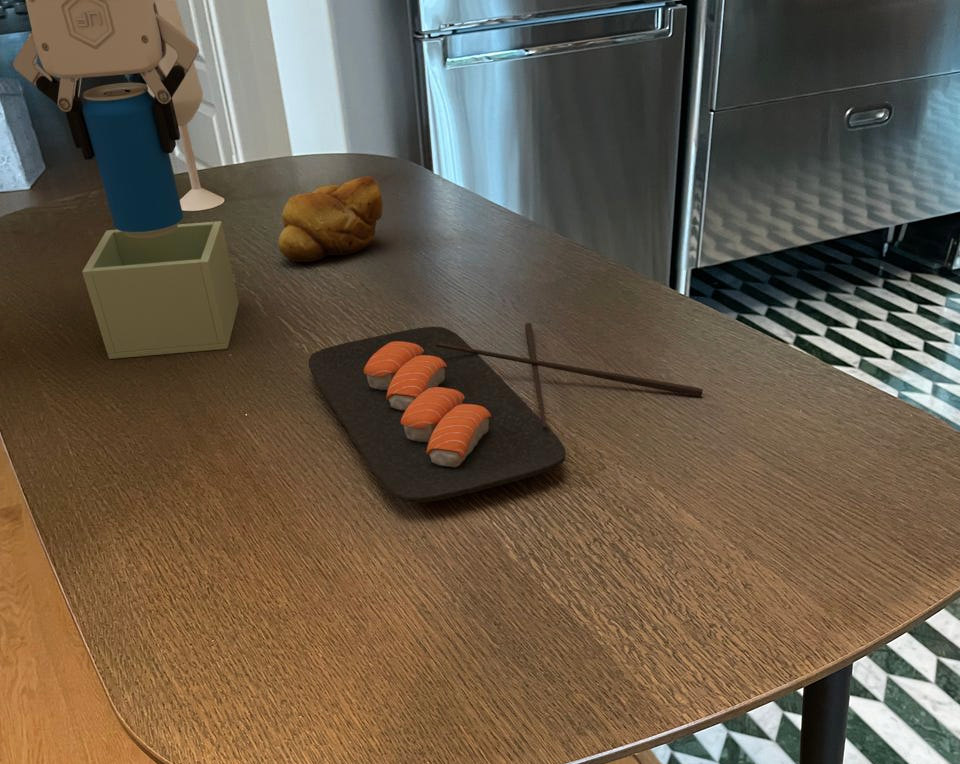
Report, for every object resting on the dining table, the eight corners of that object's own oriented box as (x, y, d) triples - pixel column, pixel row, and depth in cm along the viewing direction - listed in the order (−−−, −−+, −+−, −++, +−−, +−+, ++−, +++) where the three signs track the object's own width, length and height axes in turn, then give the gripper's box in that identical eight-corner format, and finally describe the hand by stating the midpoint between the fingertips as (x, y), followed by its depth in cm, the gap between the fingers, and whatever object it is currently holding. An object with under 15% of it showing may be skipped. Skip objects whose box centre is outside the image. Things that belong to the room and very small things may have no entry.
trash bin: (109, 359, 98) (81, 271, 92) (129, 312, 107) (106, 230, 101) (227, 349, 98) (208, 261, 93) (239, 303, 107) (221, 220, 102)
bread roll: (298, 275, 113) (286, 201, 107) (261, 253, 119) (247, 182, 114) (396, 247, 118) (388, 175, 113) (355, 227, 124) (346, 158, 119)
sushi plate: (302, 371, 94) (295, 332, 91) (590, 309, 101) (591, 271, 99) (400, 529, 73) (394, 483, 70) (754, 435, 80) (760, 391, 78)
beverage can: (187, 215, 99) (155, 78, 91) (183, 236, 94) (149, 94, 86) (120, 222, 98) (82, 85, 90) (113, 244, 93) (72, 101, 86)
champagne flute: (234, 200, 135) (192, -9, 120) (192, 214, 132) (144, -1, 116) (206, 192, 139) (161, -13, 123) (164, 205, 135) (113, -4, 120)
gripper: (-56, -76, 77) (25, 172, 89) (171, -93, 78) (221, 156, 89) (-27, -85, 83) (45, 149, 94) (184, -100, 83) (230, 134, 95)
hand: (130, 150), depth 92 cm, fingers closed on beverage can, 6 cm apart
